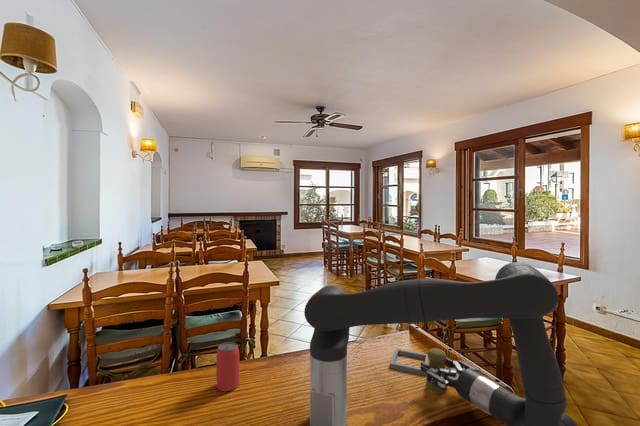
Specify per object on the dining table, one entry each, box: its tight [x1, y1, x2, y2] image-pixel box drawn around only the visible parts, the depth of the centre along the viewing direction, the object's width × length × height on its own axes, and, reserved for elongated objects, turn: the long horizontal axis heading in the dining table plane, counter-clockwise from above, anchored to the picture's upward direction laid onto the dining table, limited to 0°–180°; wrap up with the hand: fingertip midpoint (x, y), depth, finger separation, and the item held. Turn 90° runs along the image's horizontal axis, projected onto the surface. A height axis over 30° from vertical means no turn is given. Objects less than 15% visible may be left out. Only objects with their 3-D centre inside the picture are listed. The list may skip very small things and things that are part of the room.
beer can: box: [215, 341, 240, 392], centre depth 93 cm, size 7×7×12 cm
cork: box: [425, 347, 448, 394], centre depth 92 cm, size 6×6×11 cm
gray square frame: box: [389, 348, 429, 377], centre depth 106 cm, size 12×12×2 cm
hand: (431, 362), depth 94 cm, fingers open, 8 cm apart
